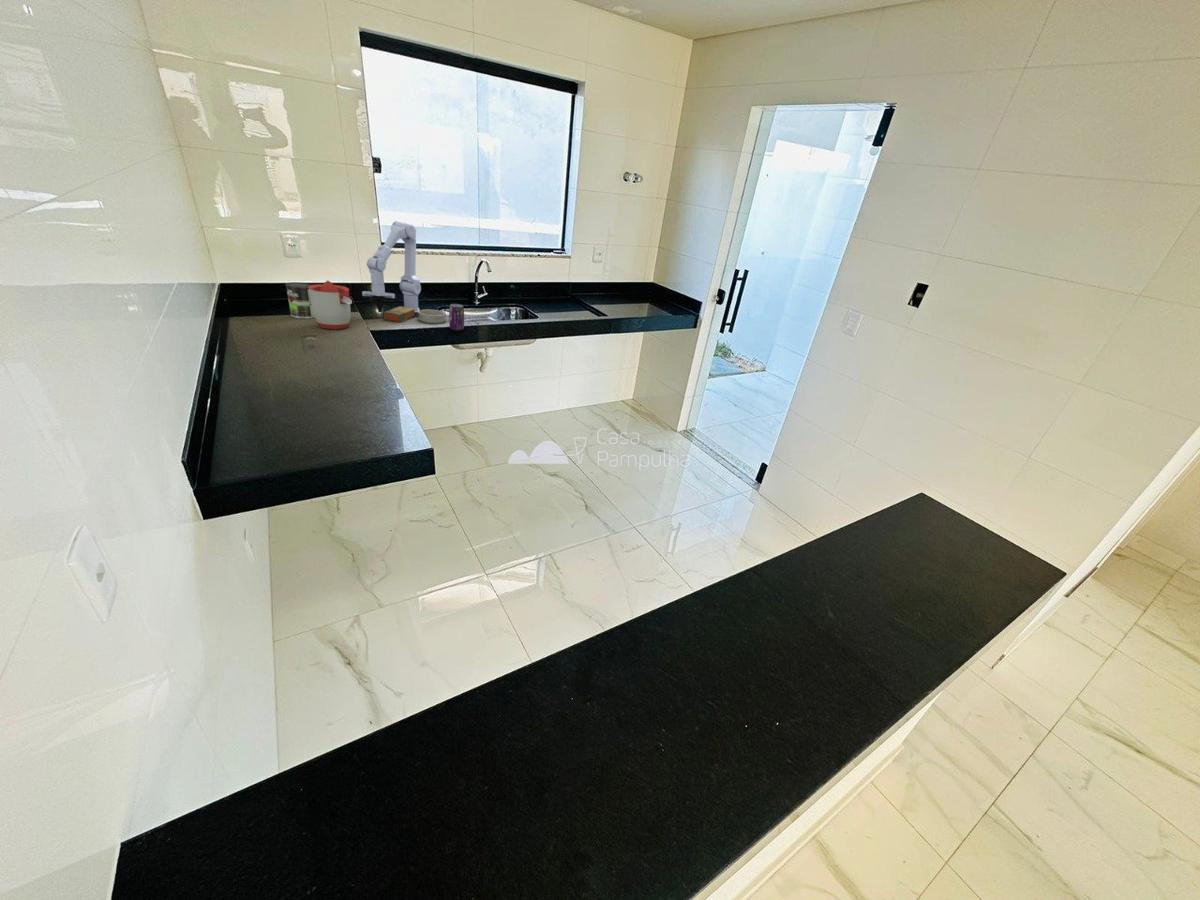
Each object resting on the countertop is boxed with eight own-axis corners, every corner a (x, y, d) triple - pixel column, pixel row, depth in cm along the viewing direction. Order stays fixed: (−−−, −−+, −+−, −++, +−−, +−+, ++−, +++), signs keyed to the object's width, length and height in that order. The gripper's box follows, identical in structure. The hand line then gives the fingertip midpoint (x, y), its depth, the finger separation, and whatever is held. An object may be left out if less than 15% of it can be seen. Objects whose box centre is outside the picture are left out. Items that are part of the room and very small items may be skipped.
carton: (415, 316, 244) (414, 308, 242) (400, 322, 230) (399, 314, 228) (399, 313, 245) (399, 305, 243) (383, 319, 230) (383, 311, 228)
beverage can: (461, 332, 231) (461, 307, 225) (447, 330, 230) (447, 305, 225) (465, 328, 237) (465, 305, 232) (451, 326, 237) (451, 302, 231)
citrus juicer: (341, 334, 202) (335, 286, 192) (305, 326, 204) (297, 279, 194) (364, 326, 215) (359, 282, 206) (330, 320, 217) (324, 275, 208)
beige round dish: (419, 316, 246) (418, 308, 244) (445, 318, 250) (445, 310, 248) (418, 322, 235) (417, 314, 233) (445, 324, 239) (445, 316, 237)
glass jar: (301, 319, 212) (296, 287, 205) (285, 315, 215) (279, 283, 208) (321, 316, 221) (317, 285, 214) (305, 312, 223) (300, 281, 217)
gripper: (360, 283, 222) (363, 312, 228) (393, 286, 226) (395, 314, 232) (362, 281, 227) (365, 309, 234) (394, 283, 232) (396, 311, 238)
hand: (380, 311), depth 233 cm, fingers closed
